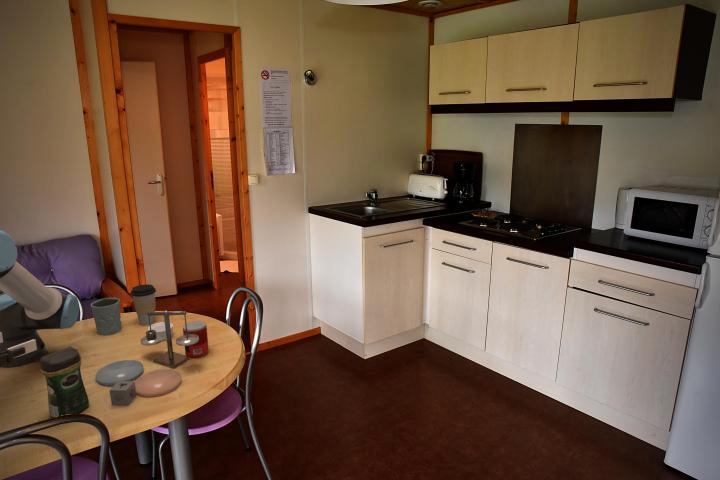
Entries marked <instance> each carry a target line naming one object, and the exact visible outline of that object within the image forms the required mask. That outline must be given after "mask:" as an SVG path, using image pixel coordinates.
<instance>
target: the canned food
mask: <svg viewBox="0 0 720 480" xmlns="http://www.w3.org/2000/svg"><path fill="white" fill-rule="evenodd" d="M186 324H187V334H195V335H198V336H199V341H198V342H197V343H195V344H193V345H189V346H184V351H185V354H184V355H186V356H190V359H199V358H202V357H205V356H207V354H208V353H209V350H210V349H209V337H208V328H207V326H208V325H207V322H206V321H204V320H191V321H188V322H186ZM182 333H183V335H186V327H185V324H183V326H182Z"/></svg>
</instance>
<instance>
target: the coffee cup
mask: <svg viewBox="0 0 720 480" xmlns="http://www.w3.org/2000/svg"><path fill="white" fill-rule="evenodd" d="M156 292H157V289H156V287H154V285H153V284H139V285H136V286H133V287H132V288H131V291H130V296H132V301H133V305H134V309H135V313H136V315H137V320H138V323H139V325H140V326H149V317H148V315H147V313H148V312H156ZM155 321H156V316H150V323H151V325H153V324H155Z"/></svg>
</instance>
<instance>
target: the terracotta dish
mask: <svg viewBox="0 0 720 480" xmlns="http://www.w3.org/2000/svg"><path fill="white" fill-rule="evenodd" d="M134 381H135V388H136V395H137V396H138V397H141V398H157V397H162V396H165V395H168V394H170V393H172V392H174V391H176V390H177V389H178V388H179V387H180V386H181V384H182V375H181V373H180V372H179V371H177V370H175V369H172V368H169V369H168V368H164V369H163V368H162V369H157V370H152V371H148V372H146V373H143V374H142V375H141V376H140V377H139V378H137V379H136V380H134Z"/></svg>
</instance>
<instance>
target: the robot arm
mask: <svg viewBox="0 0 720 480" xmlns="http://www.w3.org/2000/svg"><path fill="white" fill-rule="evenodd" d="M15 245H16V242H15V240H14V238H13V236H11V235H10V234H9V233H7V232H6V231H3V230H1V229H0V291H1V292H3V293H4V294H0V367H3V368H12V367H19V366H23V365H27V364H29V363H32V362H33V363H34V361H37V360H39V359H41V357H44V356H46V354H47V351H48V350H47V346H46V343H45V341H44V340H43V338H42V337H41V335H40V334H39V332H38V331H37V330H64V329H66V330H67V329H71V328H73V327H74V325H75V324H76V322H77V320H78V317H79V313H80V302H79V299H78V296H76V294H70V293H69V294H63V293H62V292H61V291H59V290H58V289H57V288H54V287H49V286H48V287H47V286H46V285H45V284H44V283H43V282H41V281H40V280H39V279H38V278H37V277H35V276H34V275H33V274H32V273H31V272H29V270H27V269H26V268H25V267H24V266H23V265H21V264H20V263H19V262H18V261H17V259H18V248H17V246H15Z"/></svg>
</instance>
